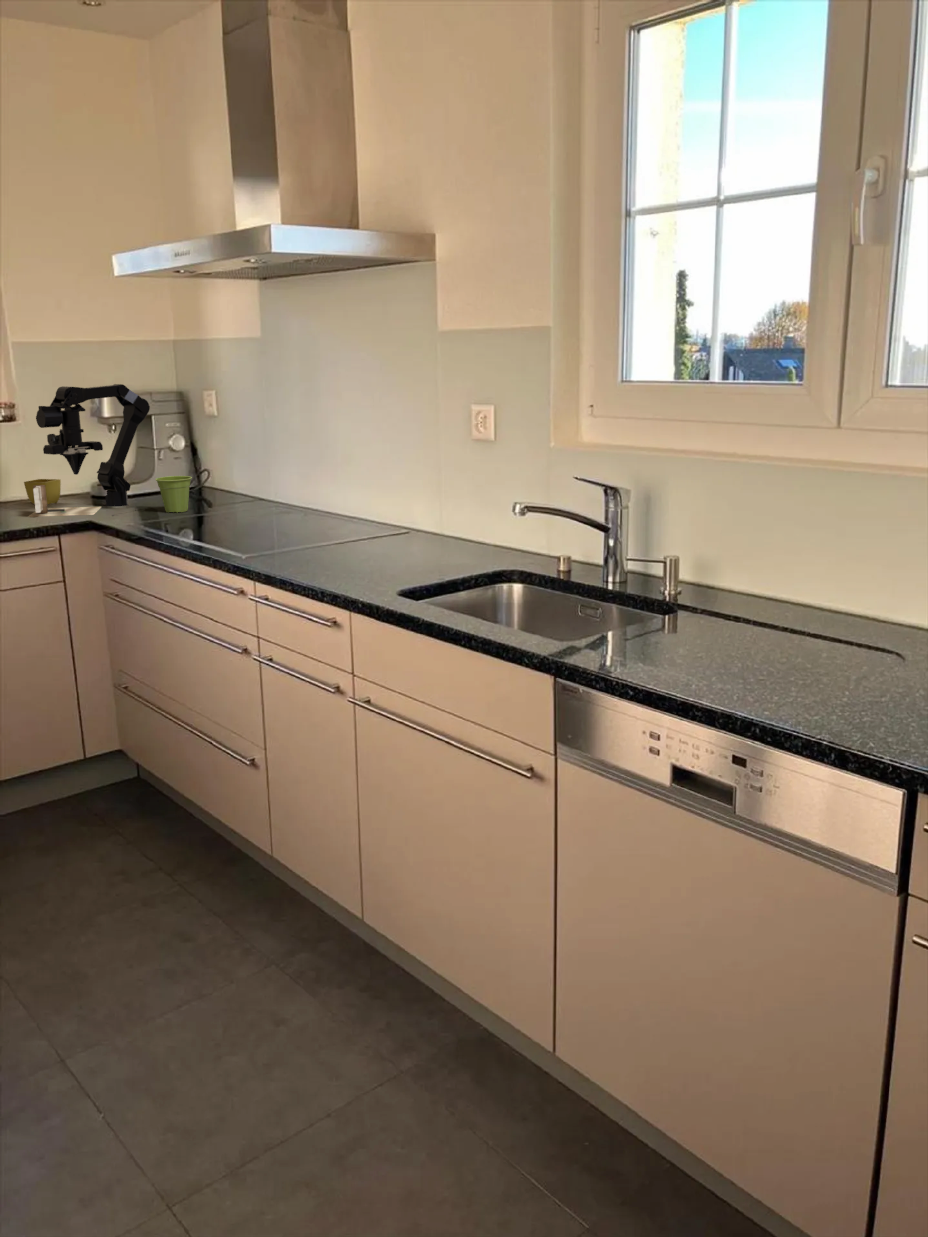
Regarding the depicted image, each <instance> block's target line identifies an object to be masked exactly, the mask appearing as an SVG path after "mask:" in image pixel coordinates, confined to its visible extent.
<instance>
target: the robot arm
mask: <svg viewBox="0 0 928 1237" xmlns="http://www.w3.org/2000/svg"><path fill="white" fill-rule="evenodd" d="M106 398H116V400H117V402H118V404H120V405H121V406H122V407H123V410H122V416H123V421H122V424H121V427H120V430H119V431H118V432H119V433H118V436H117V438H116V441H115V443H114V446H113V448H112V451H111V455H110V457H109V459H108V460H107V461H101V462H100V464H99V469H98V470H97V471H96V474H97V481H98V483H99V484H100V485H101V486H102V489H103V491H106V495H105V498H104V499H105V506H106V507H115V508H116V507H125V506H126V507H128V506H130V505H129V499H128V498H129V497H128V492H129V491H130V489H131V483H130V482H129V481H127V480H126V479H125V478H124V476H125V473H126V472H125V461H126V459H127V456H128V453H129V451H130V448H131V445H132V442H133V440H134V437H135V434H136V432H137V429H138V426H139V425H140V424H141V423H143V422H144V420H145V419H146V417H147V415H148V414H149V412H150V410H151V406H150V403H149V402H148V400H146V399H145V398H142V397H141V396H140V395H139V394H137V393H135V392H134V391H132V390H130V389H129V387H127V386H126V385H124V384H121V383H117V384H116V383H114V384H111V385H110V384H109V385H102V386H101V385H100V386H93V387H91V386H90V387H79V386H59V387H58V388H57V390H56V391H55V396H54V397H53V400H52V401H51V403H50V405H39V406H38V410H37V412H36V416H35V420H36V424H37V425H38V427H39V428H42V429H46V428H58V427H61V428H60V429H59V430H58V432H59V433H58V434H57V435H56V434H55V433H49V434H47V435H46V436H47V438H46V439H47V444H44V446H43V448H42V449H43V450H42V451H43V455H53V456H54V455H59V456H63V457H64V458H65V459H66V462H68V465H69V466H70V468H71V471H72V472H73V475H79V473H80V470H81V467H82V465H83V463H84V460H85V459H86V456H87V455H89V452H88V450H90V451H91V450H94V451H95V452H97V451H98V452H99V451H104V447H103V444H102V442H101V441H94V440H92V441H91V440H90V441H89V440H88V441H83V437H82V433H84V432H85V431H84V429H83V428H82V426H81V417H80V412H86V408H85V407H83V406H82V405H81V404H82V403H85V402H86V401H90V400H94V399H95V400H97V399H106Z"/></svg>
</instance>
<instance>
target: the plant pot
mask: <svg viewBox="0 0 928 1237" xmlns="http://www.w3.org/2000/svg"><path fill="white" fill-rule="evenodd" d="M192 479H193V477H192V476H189V475H172V476H171V475H170V476H169V475H168V476H161V477H157V478H155V481H156V483H157V487H158V488H159V491H160V495H161V499H162V501H163V502H162V503H163V505H164V506H163V507H164V510H165V512H166V513H169V512H173V513H178V512H181V513H185V512H187V511H188V510H189V499H190V497H189V496H190V486H191V481H192Z"/></svg>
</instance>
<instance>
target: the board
mask: <svg viewBox="0 0 928 1237" xmlns="http://www.w3.org/2000/svg"><path fill="white" fill-rule="evenodd" d="M101 508H102V506H76V507H74V506H69V507H48V510H51V509H65V511H61V512H48V513H36V510H35V511H34V512H32V513H31V514H29V515H28V516H27V518H31V517H32V518H35V517H36V518H37V517H61V516H65V517H67V516H89V515H90V516H93V515H95V514H96V513H97V512H98V511H99V510H100V509H101Z"/></svg>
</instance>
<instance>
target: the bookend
mask: <svg viewBox="0 0 928 1237" xmlns="http://www.w3.org/2000/svg"><path fill="white" fill-rule="evenodd" d="M33 491H34V500H35V504H34V505H35V506H34V507H35V509H34V510H35V511H36V513H48V512H61V511H65V509H51V510H48V508H49V507H48V504H47V498H46V488H45V485H35V486H33Z"/></svg>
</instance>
